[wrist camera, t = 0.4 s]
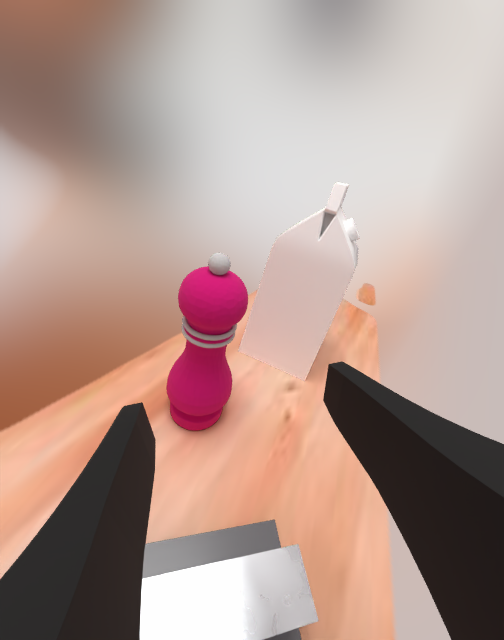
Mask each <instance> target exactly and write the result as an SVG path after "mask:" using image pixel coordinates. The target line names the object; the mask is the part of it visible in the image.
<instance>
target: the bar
mask: <svg viewBox="0 0 504 640" xmlns="http://www.w3.org/2000/svg"><path fill="white" fill-rule="evenodd" d="M317 621H318V617H317V613H316V609H315V606H314V602H313V598H312V594H311V590H310V587H309V583H308V579H307V575H306V572H305V568H304V564H303V560H302V556H301V553H300V549H299V545H298V544H296V545H292V546H287V547H283V548H278V549H274V550H270V551H265V552H261V553H256V554H252V555H247V556H243V557H239V558H234V559H230V560H225V561H221V562H216V563H212V564H208V565H203V566H199V567H194V568H190V569H185V570H181V571H177V572H172V573H168V574H163V575H159V576H154V577H150V578H146V579H142V597H141V620H140V640H263V639H266V638H269V637H272V636H275V635H278V634H281V633H284V632H287V631H290V630H293V629H296V628H299V627H302V626H305V625H308V624H311V623H314V622H317Z"/></svg>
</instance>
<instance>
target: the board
mask: <svg viewBox="0 0 504 640" xmlns="http://www.w3.org/2000/svg"><path fill="white" fill-rule="evenodd" d="M278 548H281V546H280V541H279V537H278V532H277V528H276V523H275V520H270V521H265V522H259V523H254V524H249V525H243V526H238V527H233V528H227V529H222V530H217V531H211V532H206V533H201V534H196V535H190V536H185V537H180V538H174V539H169V540H164V541H158V542H153V543H148V544H145V551H144V562H143V577H142V579H146V578H150V577H154V576H159V575H163V574H168V573H172V572H177V571H181V570H185V569H190V568H194V567H199V566H203V565H208V564H212V563H216V562H221V561H225V560H230V559H234V558H239V557H243V556H247V555H252V554H256V553H261V552H265V551H270V550H274V549H278ZM263 640H301V636H300V631H299V628H296V629H293V630H290V631H287V632H284V633H281V634H278V635H275V636H272V637H269V638H266V639H263Z"/></svg>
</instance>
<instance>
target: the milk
mask: <svg viewBox="0 0 504 640" xmlns="http://www.w3.org/2000/svg"><path fill="white" fill-rule="evenodd" d="M348 186H349V185H348V184H345V183H341V182H337V183H335V184H334V186H333V189H332V192H331V194H330V197H329V200H328V203H327V205H326V207H325V208H323V209H322V210H320V211H318V212H316V213H314V214H313V215H311V216H309V217H307V218H305V219H304V220H302V221H300V222H298V223H297V224H295V225H293V226H292V227H290V228H289V229H287V230H286V231H285V232H283V233H282V234H280V235H279V236H278V237H277V238H276V240H275V242H274V244H273V247H272V248H271V251H270V254H269V257H268V260H267V264H266V267H265V270H264V273H263V276H262V279H261V282H260V285H259V288H258V291H257V294H256V297H255V300H254V303H253V307H252V310H251V313H250V316H249V319H248V322H247V325H246V328H245V331H244V334H243V337H242V340H241V343H240V346H239V350H238V351H239V352H241V353H243V354H245V355H247V356H250V357H252V358H254V359H256V360H259V361H261V362H263V363H265V364H267V365H270V366H272V367H274V368H276V369H279V370H281V371H283V372H285V373H287V374H290V375H292V376H294V377H296V378H299V379H301V380H303V381H305V380H306V377H307V375H308V373H309V371H310V369H311V366H312V364H313V362H314V360H315V358H316V355H317V353H318V351H319V349H320V347H321V345H322V342H323V340H324V338H325V336H326V334H327V331H328V329H329V327H330V325H331V323H332V321H333V318H334V316H335V314H336V312H337V310H338V307H339V305H340V303H341V301H342V299H343V296H344V294H345V292H346V290H347V288H348V286H349V283H350V281H351V279H352V277H353V273H354V271H355V268H356V266H357V258H358V247H357V244H356V241H355V240H358V239H359V238H360V237H359V233H358V230H357V227H356V224H355V222H354V219H353V218H351V219H349V220H347V219H346V216H345V214H344V212H343V209H342V207H341V206H342V203H343V200H344V198H345V195H346V192H347V189H348Z"/></svg>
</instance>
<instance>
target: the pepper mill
mask: <svg viewBox="0 0 504 640" xmlns="http://www.w3.org/2000/svg"><path fill="white" fill-rule="evenodd" d="M208 265H209V266H208V267H201V268H199V269H196V270H194V271H193V272H191V273H190V274H188V275H187V276H186V278H185V279H184V280H183V282H182V284H181V286H180V289H179V295H178V300H179V307H180V309H181V311H182V313H183V315H184V316H183V319H182V322H183V324H182V333H183V335H184V336H185V338H186V339H187V342H186V348H185V350H184V352H183V353H182V355H181V356H180V357H179V358H178V360H177V361H176V362H175V363H174V365H173V367H172V369H171V371H170V373H169V376H168V381H167V387H166V388H167V394H168V397H169V399H170V413H171V416H172V418H173V420H174V421H175V422H176V423H177V424H178V425H179V426H181V427H183V428H185V429H187V430H194V431H195V430H203V429H206V428H208V427H210V426H212V425H213V424H214V423H215V422H216V421H217V420H218V419H219V417H220V415H221V412H222V408H223V406H224V405H225V404H226V402H227V401H228V399H229V397H230V394H231V389H232V375H231V371H230V368H229V365H228V363H227V360H226V356H225V352H226V347H227V344H229V343H230V342H231V341H232V340H233V338H234V336H235V330H236V327H237V324H236V323H238V322H239V321H240V320H241V319H242V317H243V316H244V314H245V312H246V309H247V305H248V294H247V289H246V287H245V285H244V283H243V281H242V280H241V279H240V278H239V277H238V276H237V275H236V274H234V273H233V272H231V271H229V269H230V260H229V258H228V257H227V256H226V255H225V254H223V253H215V254H213V255H212V256H211V257H210V259H209V261H208Z"/></svg>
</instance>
